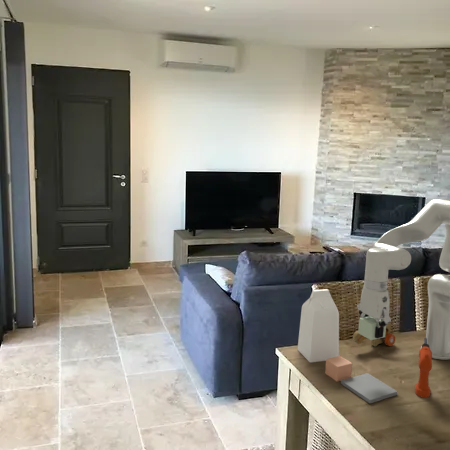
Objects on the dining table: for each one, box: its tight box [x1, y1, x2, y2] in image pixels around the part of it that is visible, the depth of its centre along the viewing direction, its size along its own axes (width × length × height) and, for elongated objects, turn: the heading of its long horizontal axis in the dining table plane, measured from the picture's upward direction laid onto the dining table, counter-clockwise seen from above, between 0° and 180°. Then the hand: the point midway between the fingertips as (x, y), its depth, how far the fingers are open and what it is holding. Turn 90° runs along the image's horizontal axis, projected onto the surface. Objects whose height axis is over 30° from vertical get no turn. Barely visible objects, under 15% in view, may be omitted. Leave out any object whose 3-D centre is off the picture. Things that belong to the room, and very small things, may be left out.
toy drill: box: [414, 337, 433, 398], centre depth 170 cm, size 5×19×15 cm, turn 159°
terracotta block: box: [324, 355, 353, 382], centre depth 177 cm, size 6×6×6 cm
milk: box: [297, 288, 340, 363], centre depth 191 cm, size 12×12×26 cm
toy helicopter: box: [352, 317, 396, 347], centre depth 200 cm, size 8×21×14 cm, turn 123°
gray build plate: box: [340, 372, 398, 404], centre depth 168 cm, size 12×14×1 cm
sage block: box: [357, 316, 386, 341], centre depth 174 cm, size 6×6×6 cm
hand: (371, 333), depth 174 cm, fingers closed on sage block, 6 cm apart
